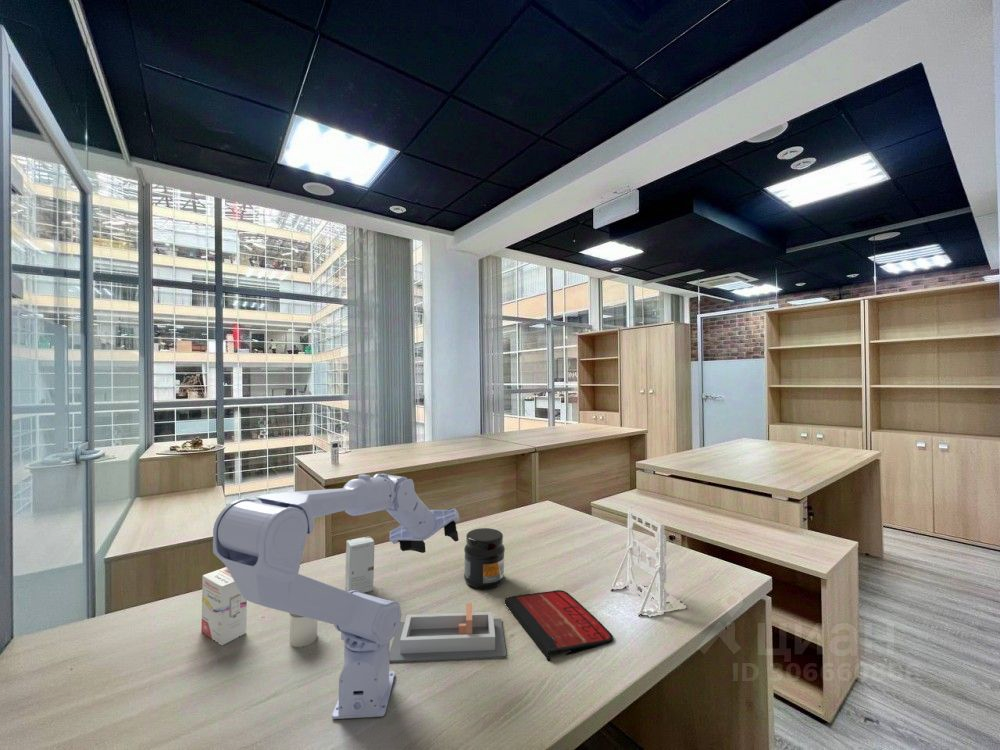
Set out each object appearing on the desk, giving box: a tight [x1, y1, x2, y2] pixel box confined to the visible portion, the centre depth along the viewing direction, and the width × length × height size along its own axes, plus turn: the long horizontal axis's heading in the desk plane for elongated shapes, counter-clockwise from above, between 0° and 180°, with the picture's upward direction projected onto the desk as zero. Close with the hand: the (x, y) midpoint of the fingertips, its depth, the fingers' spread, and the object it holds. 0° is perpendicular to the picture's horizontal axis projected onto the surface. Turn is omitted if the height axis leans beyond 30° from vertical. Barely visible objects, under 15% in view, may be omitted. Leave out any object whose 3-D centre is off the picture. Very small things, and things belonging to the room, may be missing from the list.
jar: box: [289, 613, 319, 648], centre depth 82 cm, size 5×5×7 cm
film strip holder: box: [611, 507, 667, 616], centre depth 99 cm, size 14×14×20 cm
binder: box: [504, 589, 614, 662], centre depth 89 cm, size 16×2×21 cm
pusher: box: [459, 602, 473, 635], centre depth 82 cm, size 6×3×5 cm, turn 4°
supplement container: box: [463, 527, 506, 590], centre depth 107 cm, size 10×10×12 cm
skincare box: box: [344, 536, 375, 594], centre depth 101 cm, size 6×4×12 cm
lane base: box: [389, 611, 507, 664], centre depth 82 cm, size 12×22×3 cm, turn 94°
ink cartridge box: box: [200, 566, 248, 646], centre depth 84 cm, size 9×5×15 cm, turn 59°
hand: (440, 542), depth 89 cm, fingers open, 7 cm apart
